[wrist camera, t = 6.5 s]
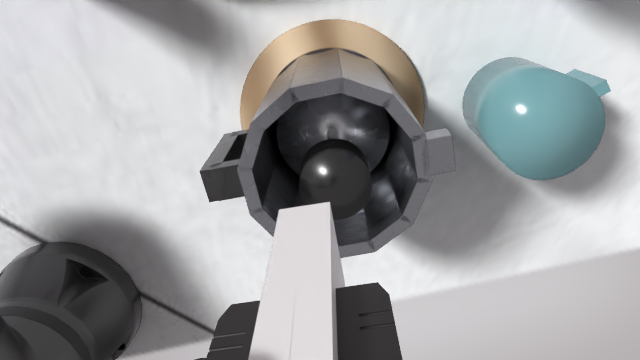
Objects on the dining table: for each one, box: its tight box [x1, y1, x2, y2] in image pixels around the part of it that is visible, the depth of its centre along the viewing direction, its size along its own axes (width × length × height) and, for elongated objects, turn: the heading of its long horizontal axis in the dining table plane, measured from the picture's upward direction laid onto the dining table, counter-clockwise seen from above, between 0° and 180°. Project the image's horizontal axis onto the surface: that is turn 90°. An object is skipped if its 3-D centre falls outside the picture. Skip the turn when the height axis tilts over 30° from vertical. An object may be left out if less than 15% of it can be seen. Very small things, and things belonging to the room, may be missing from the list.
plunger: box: [277, 93, 389, 220], centre depth 35 cm, size 9×9×12 cm
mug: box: [463, 57, 611, 180], centre depth 41 cm, size 10×8×10 cm
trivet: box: [240, 20, 424, 130], centre depth 46 cm, size 17×17×1 cm
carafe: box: [200, 47, 456, 258], centre depth 38 cm, size 17×12×15 cm
